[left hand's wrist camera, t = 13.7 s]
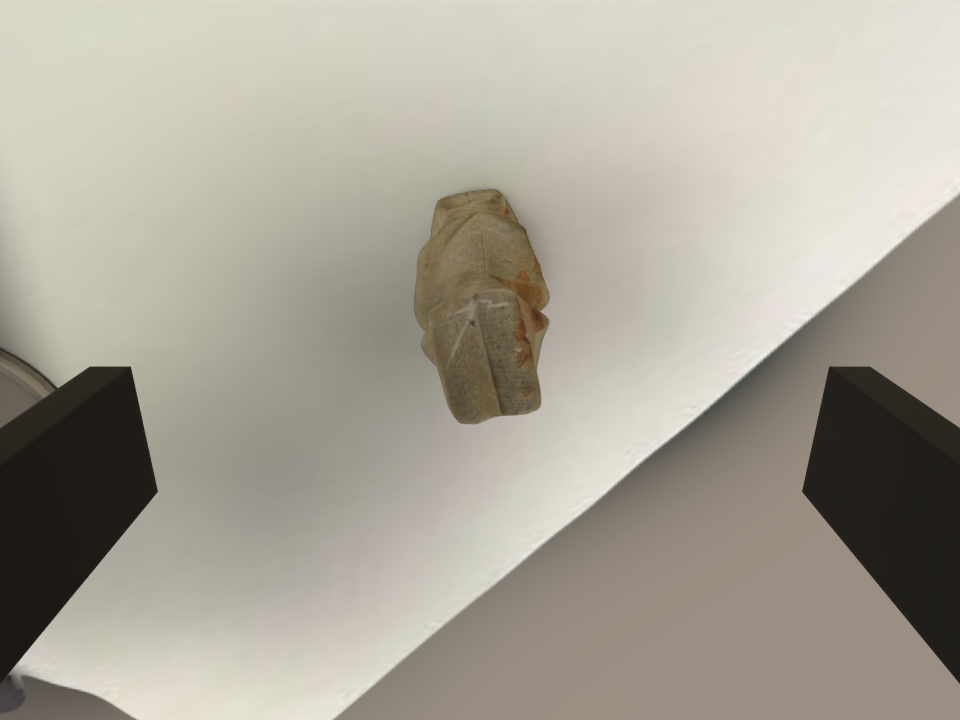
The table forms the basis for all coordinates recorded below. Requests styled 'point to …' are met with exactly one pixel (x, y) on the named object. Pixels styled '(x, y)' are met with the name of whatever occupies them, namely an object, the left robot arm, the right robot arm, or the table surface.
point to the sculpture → (481, 307)
